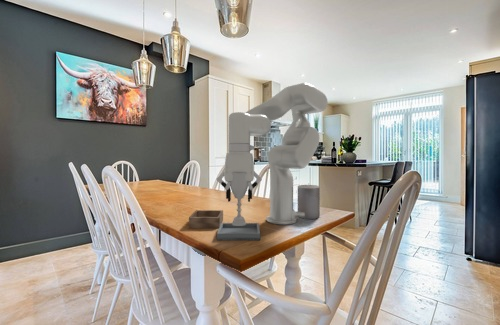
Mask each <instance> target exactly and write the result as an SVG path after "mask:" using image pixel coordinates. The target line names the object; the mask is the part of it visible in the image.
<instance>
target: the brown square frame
mask: <svg viewBox="0 0 500 325" xmlns="http://www.w3.org/2000/svg"><path fill="white" fill-rule="evenodd" d="M223 221H224V210H223V209H222V210H221V209H220V210H213V209H212V210H206V209H202V210H201V209H200V210H197V209H196V210H195V211H193V213H192V214H191V215H190V216H189V217H188V229H219V227H220V225H221V223H223Z"/></svg>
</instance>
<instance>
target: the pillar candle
mask: <svg viewBox="0 0 500 325" xmlns="http://www.w3.org/2000/svg"><path fill="white" fill-rule="evenodd" d="M320 190H321V189H320V186H319V185H315V184H314V185H313V184H310V183H308V184H301V185H300V184H299V185H297V211H300V212H304V213H305V217H299V218H301V219H304V218H305V220H315V219H316V218H317V219H319V218H320V216H321V214H320V212H321V211H320V209H321V208H320V206H321V205H320V200H321V199H320V197H321V196H320V192H321V191H320ZM317 219H316V220H317Z"/></svg>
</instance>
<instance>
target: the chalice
mask: <svg viewBox="0 0 500 325" xmlns="http://www.w3.org/2000/svg"><path fill="white" fill-rule="evenodd" d="M246 174H247V173H232V175H233V180H232V182H231V184H230V189H231V193H232V195H233V196H234V199H237V203H236V206H237V208H236V211H237V215H236V216H234V217H233V220H232V222H231V223H232V225H234V226H243V225H246V223H247V222H246V220H245V218H244V216H243V215H242V213H241V212H242V208H241V206H242V199H244V197H245V195H246V194H247V192H248V189H249V186H248V184H247V182H246V179H245V175H246Z"/></svg>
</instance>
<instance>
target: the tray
mask: <svg viewBox="0 0 500 325" xmlns="http://www.w3.org/2000/svg"><path fill="white" fill-rule="evenodd" d="M232 223H233V222H222V223H221V225H220V227H219V228H218V230H217V233H216V241H261V229H260V223H259V222H246V225H243V226H234V225H232Z"/></svg>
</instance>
